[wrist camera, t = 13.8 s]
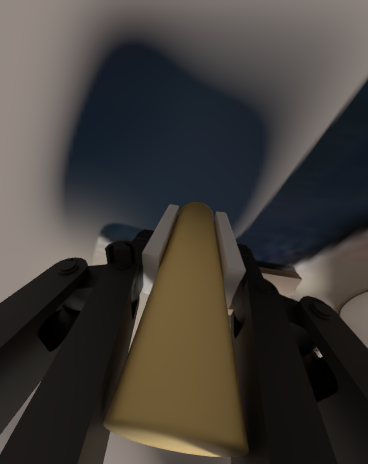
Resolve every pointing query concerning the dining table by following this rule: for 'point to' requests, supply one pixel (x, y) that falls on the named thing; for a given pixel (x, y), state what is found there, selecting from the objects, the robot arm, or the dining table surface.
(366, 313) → the mug
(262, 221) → the dining table surface
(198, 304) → the pin
